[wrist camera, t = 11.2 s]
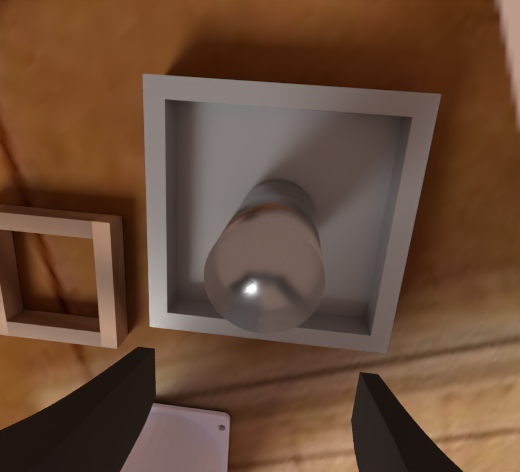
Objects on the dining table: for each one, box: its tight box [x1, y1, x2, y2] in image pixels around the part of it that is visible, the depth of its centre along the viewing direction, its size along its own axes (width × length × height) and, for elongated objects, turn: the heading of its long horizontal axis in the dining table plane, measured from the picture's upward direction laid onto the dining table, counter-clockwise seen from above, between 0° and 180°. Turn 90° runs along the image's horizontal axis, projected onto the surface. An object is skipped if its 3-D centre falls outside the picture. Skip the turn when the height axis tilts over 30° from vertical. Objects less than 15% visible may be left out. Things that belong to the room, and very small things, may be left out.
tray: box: [143, 74, 441, 354], centre depth 19 cm, size 13×13×2 cm
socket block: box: [0, 204, 128, 349], centre depth 22 cm, size 8×8×2 cm
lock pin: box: [204, 179, 325, 334], centre depth 16 cm, size 4×4×8 cm
